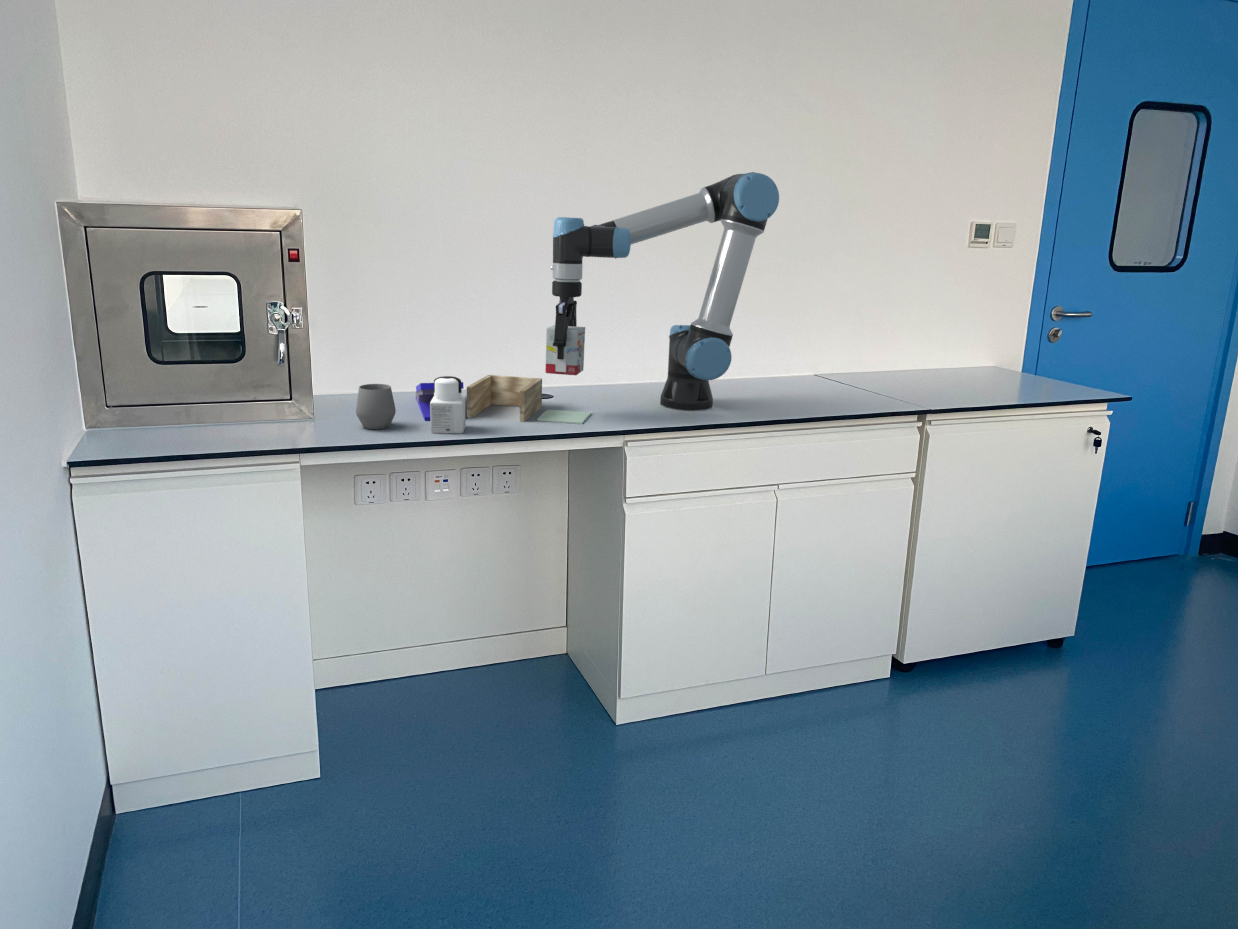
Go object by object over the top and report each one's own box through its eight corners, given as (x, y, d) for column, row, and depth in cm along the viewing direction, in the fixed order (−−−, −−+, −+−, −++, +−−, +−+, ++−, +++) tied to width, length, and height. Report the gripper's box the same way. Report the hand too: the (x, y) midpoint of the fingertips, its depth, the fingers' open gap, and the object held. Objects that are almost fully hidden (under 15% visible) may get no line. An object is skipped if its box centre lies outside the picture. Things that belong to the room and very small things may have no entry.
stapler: (422, 422, 223) (421, 384, 220) (413, 399, 249) (412, 364, 246) (467, 420, 226) (467, 383, 224) (454, 398, 252) (453, 364, 249)
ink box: (576, 375, 224) (577, 329, 221) (544, 373, 226) (545, 327, 222) (584, 370, 232) (586, 325, 229) (553, 368, 234) (554, 323, 231)
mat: (591, 414, 237) (591, 412, 237) (581, 424, 226) (582, 422, 226) (547, 410, 239) (547, 409, 239) (536, 420, 228) (536, 419, 228)
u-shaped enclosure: (541, 406, 243) (542, 378, 241) (524, 421, 226) (524, 391, 224) (488, 403, 246) (488, 374, 243) (466, 417, 228) (466, 387, 226)
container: (434, 425, 219) (433, 374, 215) (465, 426, 219) (464, 374, 216) (430, 433, 211) (429, 380, 208) (462, 433, 212) (462, 380, 208)
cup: (359, 432, 210) (357, 391, 207) (354, 423, 218) (352, 383, 215) (399, 430, 213) (398, 389, 211) (392, 421, 222) (391, 382, 219)
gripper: (562, 276, 233) (560, 361, 239) (542, 282, 213) (540, 374, 219) (589, 278, 232) (587, 362, 238) (572, 284, 212) (570, 376, 218)
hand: (565, 368), depth 229 cm, fingers closed on ink box, 9 cm apart
